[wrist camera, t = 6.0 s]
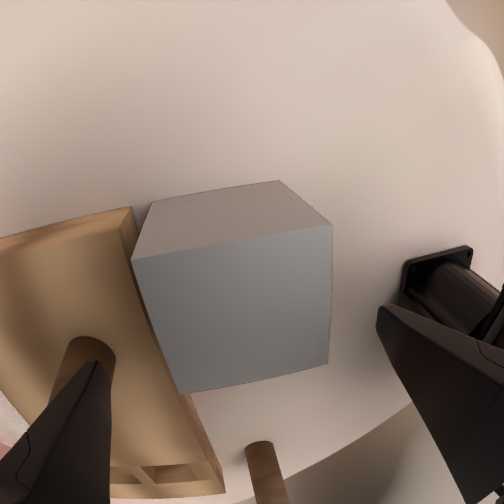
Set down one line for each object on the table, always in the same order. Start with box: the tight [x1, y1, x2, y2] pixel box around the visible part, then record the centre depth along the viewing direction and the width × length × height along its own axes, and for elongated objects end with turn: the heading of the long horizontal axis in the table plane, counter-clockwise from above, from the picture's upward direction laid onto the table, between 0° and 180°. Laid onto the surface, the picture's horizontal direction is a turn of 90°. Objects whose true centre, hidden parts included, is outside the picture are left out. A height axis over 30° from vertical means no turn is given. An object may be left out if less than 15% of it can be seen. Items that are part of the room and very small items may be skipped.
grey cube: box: [131, 180, 332, 394], centre depth 13 cm, size 6×6×6 cm
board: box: [0, 206, 226, 499], centre depth 15 cm, size 12×26×8 cm, turn 6°
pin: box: [245, 441, 290, 504], centre depth 21 cm, size 3×3×7 cm
